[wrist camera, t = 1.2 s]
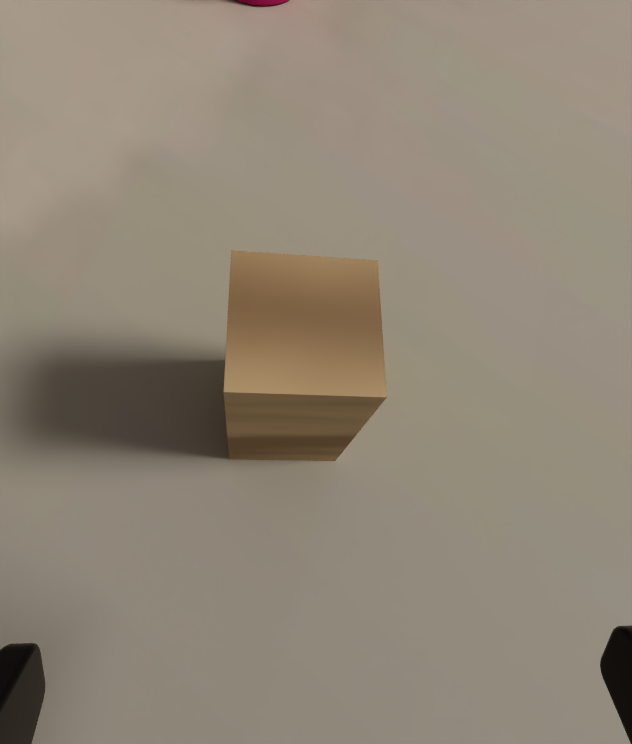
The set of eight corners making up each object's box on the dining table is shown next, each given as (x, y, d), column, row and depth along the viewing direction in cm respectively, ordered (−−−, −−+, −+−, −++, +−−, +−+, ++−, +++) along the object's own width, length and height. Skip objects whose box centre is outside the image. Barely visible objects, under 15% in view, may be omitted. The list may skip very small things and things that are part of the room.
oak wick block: (335, 460, 22) (386, 397, 15) (228, 459, 22) (223, 392, 14) (332, 363, 24) (377, 260, 16) (233, 360, 23) (231, 250, 16)
